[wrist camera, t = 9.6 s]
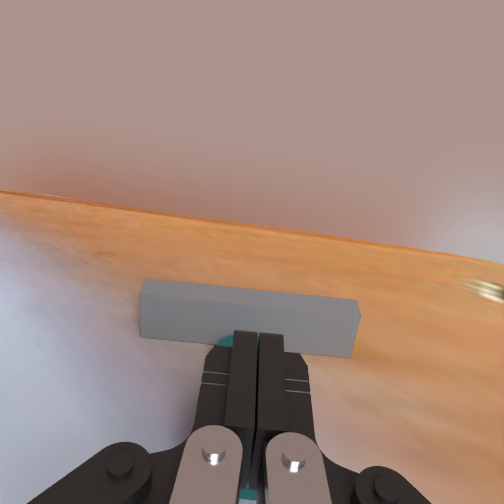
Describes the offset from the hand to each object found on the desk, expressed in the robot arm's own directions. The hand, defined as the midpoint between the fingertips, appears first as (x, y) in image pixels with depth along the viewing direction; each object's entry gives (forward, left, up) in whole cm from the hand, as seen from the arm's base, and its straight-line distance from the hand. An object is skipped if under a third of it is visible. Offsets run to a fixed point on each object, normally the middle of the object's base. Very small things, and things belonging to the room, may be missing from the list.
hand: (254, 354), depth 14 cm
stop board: (0, +31, -25) cm, 40 cm away
